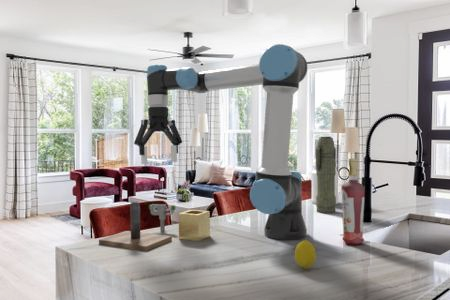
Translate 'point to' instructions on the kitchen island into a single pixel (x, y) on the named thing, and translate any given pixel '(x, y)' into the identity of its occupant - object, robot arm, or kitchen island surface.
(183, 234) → the hollow square tube
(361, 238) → the liquor
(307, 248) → the lemon
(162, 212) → the mechanical component
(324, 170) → the thermos
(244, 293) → the kitchen island surface
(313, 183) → the bottle
